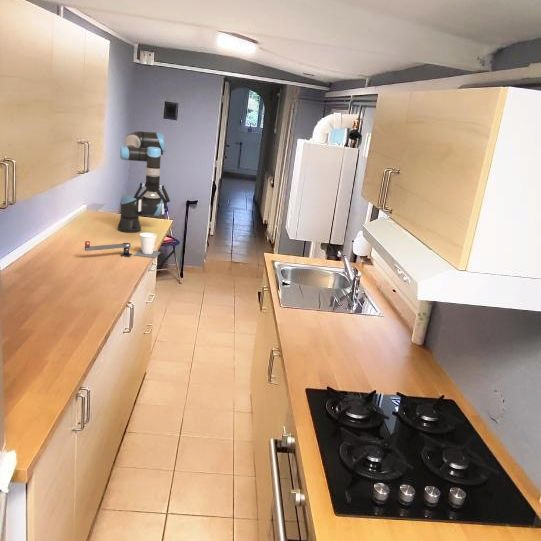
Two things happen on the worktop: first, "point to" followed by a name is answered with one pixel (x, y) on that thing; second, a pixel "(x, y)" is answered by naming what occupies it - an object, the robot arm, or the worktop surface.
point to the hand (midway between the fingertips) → (151, 212)
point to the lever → (105, 246)
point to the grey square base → (126, 253)
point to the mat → (147, 255)
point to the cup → (147, 242)
